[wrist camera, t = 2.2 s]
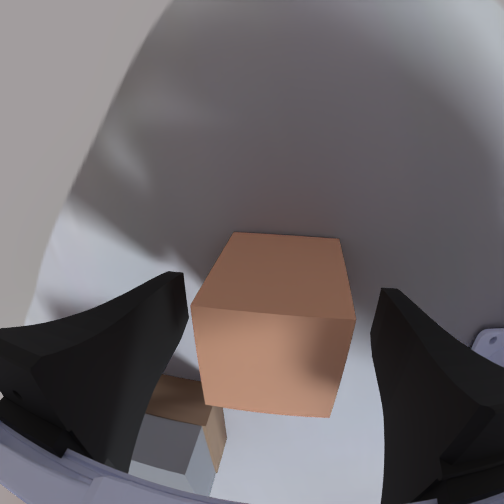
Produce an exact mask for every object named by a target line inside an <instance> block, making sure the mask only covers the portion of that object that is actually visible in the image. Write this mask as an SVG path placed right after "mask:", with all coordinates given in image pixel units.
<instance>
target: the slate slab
mask: <svg viewBox="0 0 504 504" xmlns="http://www.w3.org/2000/svg"><path fill="white" fill-rule="evenodd" d="M128 474H130V475H132V476H135V477H138V478H141V479H144V480H147V481H150V482H154V483H157V484H160V485H164V486H167V487H171V488H174V489H178V490H182V491H186V492H190V493H194V494H198V495H203V496H207V497H209V495H210V492H211V489H212V485H213V482H214V478H215V474H216V472H215V469H214V465H213V462H212V459H211V456H210V452H209V449H208V446H207V442H206V439H205V435H204V432H203V428H202V426H200V425H194V424H189V423H184V422H179V421H175V420H170V419H166V418H162V417H157V416H153V415H149V414H145V415H144V418H143V421H142V424H141V427H140V430H139V433H138V437H137V440H136V444H135V447H134V451H133V455H132V459H131V463H130V468H129V472H128Z"/></svg>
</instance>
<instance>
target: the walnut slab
mask: <svg viewBox="0 0 504 504" xmlns="http://www.w3.org/2000/svg"><path fill="white" fill-rule="evenodd" d="M145 414H149V415H153V416H157V417H162V418H166V419H170V420H175V421H179V422H184V423H189V424H194V425H200V426H202V428H203V432H204V435H205V439H206V442H207V446H208V449H209V452H210V456H211V459H212V462H213V465H214V469H215V472H216V473H217V472H218V468H219V465H220V461H221V458H222V454H223V450H224V447H225V443H226V440H227V435H226V428H225V421H224V413H223V407H217V406H211V405H206V404H205V400H204V394H203V388H202V382H201V381H196V380H190V379H184V378H179V377H174V376H169V375H164V374H162V375H161V377H160V379H159V381H158V383H157V385H156V387H155V389H154V391H153V394H152V396H151V399H150V401H149V404H148V407H147V409H146V412H145Z"/></svg>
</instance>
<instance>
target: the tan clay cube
mask: <svg viewBox="0 0 504 504" xmlns="http://www.w3.org/2000/svg"><path fill="white" fill-rule="evenodd" d="M190 307H191V315H192V322H193V330H194V337H195V344H196V351H197V357H198V364H199V370H200V376H201V382H202V388H203V394H204V400H205V404H206V405H211V406H217V407H223V408H230V409H237V410H244V411H251V412H260V413H269V414H279V415H290V416H304V417H323V418H330V415H331V411H332V408H333V405H334V402H335V399H336V395H337V392H338V388H339V385H340V381H341V378H342V374H343V371H344V367H345V363H346V359H347V356H348V352H349V348H350V344H351V340H352V336H353V331H354V327H355V323H356V316H355V310H354V305H353V300H352V295H351V290H350V285H349V280H348V276H347V271H346V266H345V262H344V257H343V253H342V249H341V244H340V240H339V239H335V238H321V237H306V236H291V235H276V234H260V233H243V232H233V234H232V236H231V237H230V239H229V241H228V242H227V244H226V246H225V247H224V249H223V251H222V252H221V254H220V256H219V257H218V259H217V261H216V262H215V264H214V266H213V268H212V269H211V271H210V273H209V274H208V276H207V278H206V279H205V281H204V283H203V284H202V286H201V288H200V290H199V291H198V293H197V295H196V296H195V298H194V300H193V302H192V303H191V305H190Z"/></svg>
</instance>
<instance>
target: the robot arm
mask: <svg viewBox="0 0 504 504" xmlns="http://www.w3.org/2000/svg"><path fill="white" fill-rule="evenodd" d="M188 319H189V315H188V307H187V300H186V292H185V283H184V274H183V273H181V272H171V271H168V272H165V273H163V274H161V275H159V276H157V277H155V278H153V279H151V280H149V281H147V282H145V283H144V284H142V285H140V286H138V287H136V288H134V289H132V290H131V291H129V292H127V293H125V294H123V295H121V296H119V297H117V298H114V299H112V300H110V301H108V302H106V303H104V304H102V305H100V306H97V307H95V308H92V309H90V310H87V311H84V312H82V313H79V314H75V315H72V316H69V317H65V318H62V319H58V320H55V321H50V322H46V323H41V324H35V325H29V326H21V327H11V328H1V329H0V392H1V393H2V394H3V396H4V397H3V398H2V399H1V400H0V484H2V485H3V486H4V487H6V488H7V489H8V490H9V491H11V492H12V493H13V494H14V495H16V496H17V497H18V498H20V499H21V500H23V501H24V502H25V503H27V504H247V503H241V502H234V501H228V500H223V499H217V498H212V497H207V496H203V495H198V494H194V493H190V492H186V491H182V490H178V489H174V488H171V487H167V486H164V485H160V484H157V483H154V482H150V481H147V480H144V479H141V478H138V477H135V476H132V475H130V474H128V472H129V468H130V463H131V459H132V455H133V451H134V447H135V444H136V440H137V437H138V433H139V430H140V427H141V424H142V421H143V418H144V415H145V412H146V409H147V407H148V404H149V401H150V399H151V396H152V394H153V391H154V389H155V387H156V385H157V383H158V381H159V379H160V377H161V375H162V373H163V371H164V370H165V368H166V366H167V364H168V362H169V360H170V359H171V357H172V355H173V353H174V351H175V349H176V348H177V346H178V344H179V342H180V340H181V338H182V335H183V333H184V330H185V327H186V324H187V321H188ZM370 337H371V349H372V358H373V363H374V367H375V372H376V377H377V382H378V386H379V391H380V396H381V402H382V408H383V416H384V441H385V451H384V477H383V489H382V498H381V504H504V328H496V329H485V330H483V331H481V332H480V333H479V334H478V336H477V337H476V339H475V342H474V344H473V346H472V348H471V349H470V348H468V347H467V346H465V345H464V344H463V343H461V342H460V341H458V340H457V339H455V338H454V337H453V336H451V335H450V334H449V333H448V332H446V331H445V330H444V329H443V328H442V327H440V326H439V325H438V324H437V323H436V322H434V321H433V320H432V319H431V318H430V317H429V316H428V315H427V314H425V313H424V312H423V311H422V310H421V309H420V308H419V307H418V306H417V305H416V304H415V303H413V302H412V301H411V300H410V299H409V298H408V297H407V296H406V295H405V294H403V293H402V292H401V291H400V290H398V289H394V288H381V292H380V296H379V301H378V305H377V309H376V313H375V317H374V321H373V325H372V328H371V332H370Z"/></svg>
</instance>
